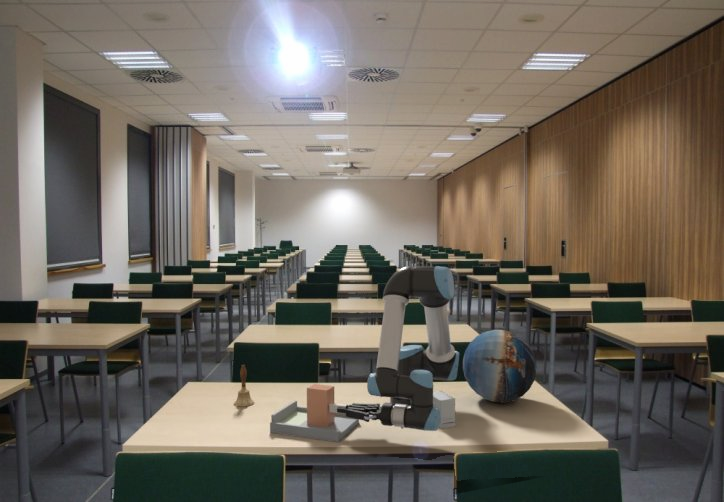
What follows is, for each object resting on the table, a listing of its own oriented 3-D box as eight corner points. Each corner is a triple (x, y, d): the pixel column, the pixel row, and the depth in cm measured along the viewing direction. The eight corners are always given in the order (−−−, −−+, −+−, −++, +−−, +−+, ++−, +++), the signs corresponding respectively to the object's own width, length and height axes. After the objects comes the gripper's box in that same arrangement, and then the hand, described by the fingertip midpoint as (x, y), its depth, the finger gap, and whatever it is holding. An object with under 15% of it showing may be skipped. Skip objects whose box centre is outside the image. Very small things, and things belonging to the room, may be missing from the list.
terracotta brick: (334, 421, 200) (334, 386, 199) (326, 427, 194) (326, 390, 194) (314, 418, 203) (314, 383, 202) (306, 424, 197) (306, 388, 197)
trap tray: (359, 422, 204) (359, 406, 204) (338, 442, 186) (338, 424, 185) (296, 414, 213) (295, 399, 213) (270, 432, 195) (270, 415, 194)
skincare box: (426, 419, 208) (426, 392, 208) (441, 417, 210) (441, 390, 210) (440, 428, 198) (440, 399, 198) (455, 426, 201) (455, 398, 200)
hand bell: (229, 405, 225) (229, 366, 225) (241, 399, 233) (241, 362, 232) (246, 407, 222) (246, 368, 222) (258, 402, 230) (257, 363, 229)
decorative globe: (529, 366, 249) (463, 354, 254) (542, 321, 229) (469, 309, 235) (529, 423, 226) (455, 409, 232) (543, 378, 207) (462, 364, 213)
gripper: (388, 432, 182) (322, 424, 190) (399, 419, 194) (337, 412, 202) (388, 409, 181) (322, 402, 189) (399, 398, 194) (336, 392, 202)
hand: (330, 407), depth 196 cm, fingers closed
